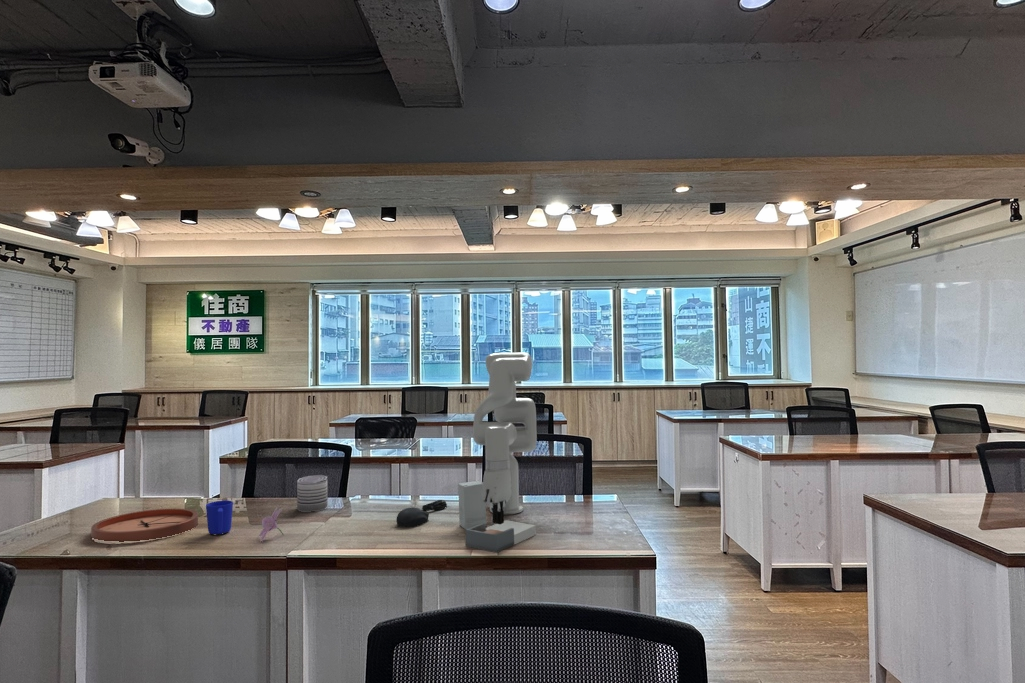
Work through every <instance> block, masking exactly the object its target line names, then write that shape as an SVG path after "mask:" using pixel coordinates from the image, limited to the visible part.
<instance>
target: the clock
mask: <svg viewBox="0 0 1025 683" xmlns="http://www.w3.org/2000/svg"><path fill="white" fill-rule="evenodd" d="M198 525H199V513H198V511H196V510H193V509H190V508H158V509H156V508H155V509H147V510H138V511H135V512H133V511H132V512H128V513H124V514H123V513H122V514H118V515H115V516H110V517H108V518H105V519H101V520H100V521H97V522H96V523H94V524H93V525H92V526H91V529H90V532H91V533H90V537H92V538H94V539H98V540H104V541H119V542H124V541H140V540H149V539H156V538H162V537H167V536H172V535H175V534H179V533H182V532H185V531H188V530H190V531H192V530H193V529H192V528H194V527H195V528H197V527H198ZM196 526H197V527H196ZM195 528H194V529H195ZM191 529H192V530H191ZM188 532H189V531H188Z"/></svg>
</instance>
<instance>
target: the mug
mask: <svg viewBox="0 0 1025 683" xmlns="http://www.w3.org/2000/svg"><path fill="white" fill-rule="evenodd" d="M233 507H234V502H233V501H232V500H217V501H216V500H215V501H212V502H209V503H207V504H206V505H205V510H206V521H207V531H208V534H209V533H210V534H209V535H211V534H222V533H226V532H228V533H230V531H231V529H232V523H233V522H232V519H233V509H234V508H233ZM226 534H227V533H226ZM222 535H223V534H222Z"/></svg>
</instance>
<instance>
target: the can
mask: <svg viewBox="0 0 1025 683" xmlns="http://www.w3.org/2000/svg"><path fill="white" fill-rule="evenodd" d="M296 487H297V488H296V489H297V490H296V491H297V497H296V498H297V500H296V504H297V507H296V508H297V509H296V510H297V511H298V510H299V512H300V511H301V512H300V513H312V512H311V511H315V512H319V511H318V510H321V511H323V510H322V509H324V510H326V509H327V508H328V507H327V506H328V502H329V501H328V475H322V474H316V475H315V474H314V475H307V476H303V477H300V478H298V480H296ZM326 507H327V508H326ZM325 508H326V509H325Z"/></svg>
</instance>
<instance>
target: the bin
mask: <svg viewBox="0 0 1025 683" xmlns="http://www.w3.org/2000/svg"><path fill="white" fill-rule="evenodd" d="M486 526H487V522H486V523H481V524H479V525H476V526H474V527H471V528H468V529H464V530H465V532H464V534H465V547H468V548H473V549H477V548H478V550H482V551H486V552H487V551H488V552H493V553H497V554H498V553H499V552H502V551H503V550H507V549H508V548H511V547H513V546H514V528H510V529H508V530H505V531H503V532H501V533H498V534H491V533H486V532H484V531H486V528H487V527H486ZM512 545H513V546H512Z"/></svg>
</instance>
